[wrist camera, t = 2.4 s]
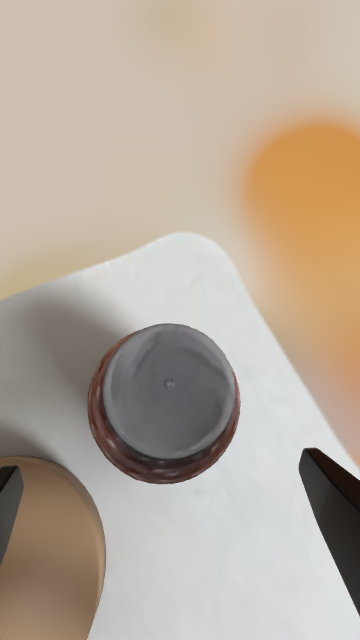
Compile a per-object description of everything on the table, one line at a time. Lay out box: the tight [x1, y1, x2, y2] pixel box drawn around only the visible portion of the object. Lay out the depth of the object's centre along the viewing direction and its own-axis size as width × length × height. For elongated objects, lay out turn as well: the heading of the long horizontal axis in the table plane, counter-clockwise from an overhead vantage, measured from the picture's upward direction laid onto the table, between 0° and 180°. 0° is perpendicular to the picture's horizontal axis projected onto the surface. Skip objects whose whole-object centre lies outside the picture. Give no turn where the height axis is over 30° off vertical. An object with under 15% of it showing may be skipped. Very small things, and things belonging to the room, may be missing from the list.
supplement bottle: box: [88, 324, 240, 484], centre depth 14 cm, size 6×6×11 cm
